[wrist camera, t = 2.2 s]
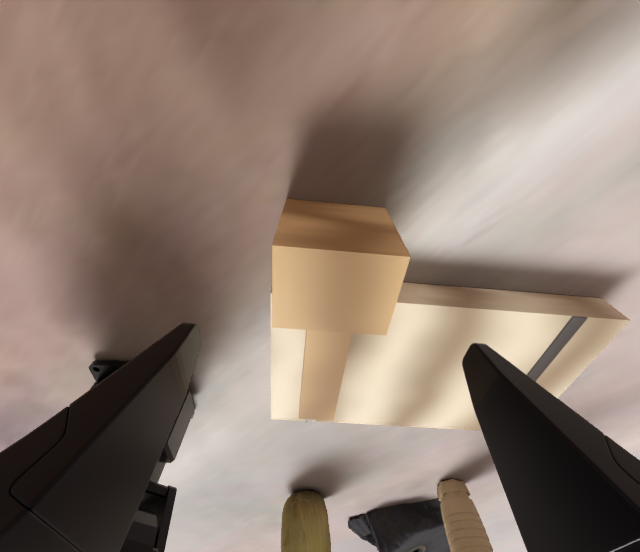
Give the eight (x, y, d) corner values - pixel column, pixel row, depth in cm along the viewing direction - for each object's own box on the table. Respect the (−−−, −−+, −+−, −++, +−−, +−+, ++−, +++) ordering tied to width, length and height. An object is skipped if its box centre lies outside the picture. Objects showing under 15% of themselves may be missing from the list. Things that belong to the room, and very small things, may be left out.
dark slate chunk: (398, 552, 49) (405, 593, 45) (339, 511, 39) (341, 559, 35) (489, 539, 45) (506, 582, 41) (452, 488, 34) (469, 540, 31)
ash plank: (274, 395, 23) (270, 420, 22) (275, 272, 17) (270, 294, 15) (510, 408, 24) (525, 434, 22) (601, 298, 18) (632, 321, 16)
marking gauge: (282, 349, 20) (272, 417, 16) (286, 198, 14) (272, 245, 10) (351, 354, 21) (359, 421, 16) (385, 207, 14) (410, 257, 10)
